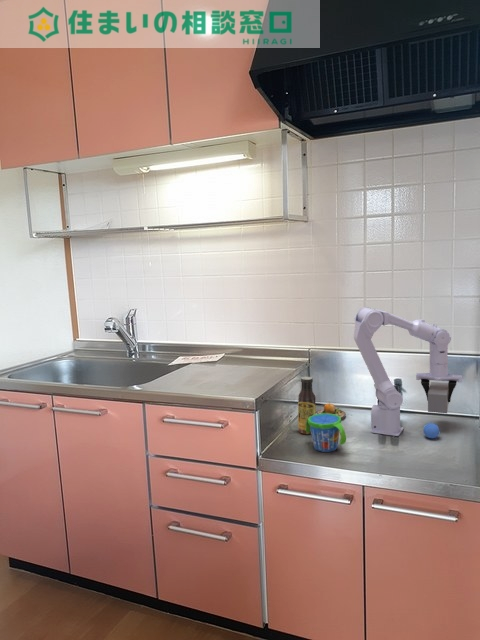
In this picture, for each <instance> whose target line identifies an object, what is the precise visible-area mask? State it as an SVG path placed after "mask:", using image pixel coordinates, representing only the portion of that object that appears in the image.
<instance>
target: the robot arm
mask: <svg viewBox="0 0 480 640" xmlns="http://www.w3.org/2000/svg"><path fill="white" fill-rule="evenodd" d="M389 324H390V325H393V326H395V327H399V328H401V329H404V330H406V331H408V333H409V335H410V336H413V337H415V338H417V339H420V340H422V341H425V342H427V343H429V372H423V373H422V372H421V373H420V372H419V373H417V372H416V375H415V376H416V377H415V378H416V379H415V380H417V381H419V380H420V384H421V386H422V388H423V391H424V393H425V396H426V401H427V402H428V391H429V387H430V383H431V382H430V381H437V382H438V381H440V382H441V381H442V382H447V383H448V402H449V403H451V400H452V399H451V398H452V396H453V395H452V394H453V393H454V391H455V388H456V386H457V382H458V383H462V382H463V379H462V377H463V375H461V374H452V373H451V374H450V373H449V369H448V363H449V362H448V361H449V360H448V347H449V344H450V342H451V340H452V337H451V336H450V335H451V334H450V333H449V332H448V330H445V329H444V328H440V327H438V325H436V324H429V323H427V322H426V321H425V320H424V319H421V318H420V319H414V320H413V321H410V320H408V319H407V318H404V317H401V316H398V315H396V314H393V313H391V312H388V311H385V310H381V309H376V308H373V309H372V308H371V307H369V306H364V307H362V308H360V309H358V311H357V313H356V314H355V316H354V331H353V340H354V341H355V344H356V346H357V348H358V350H359V352H360V355H361V357H362V359H363V361H364V363H365V365H366V368H367V370H368V372H369V374H370V376H371V378H372V380H373V383H374V384H373V386H374V389H375V397H376V399H378V404H373V405H372V406H371V411H370V425H371V426H370V433H373V434H379V435H386V436H387V435H388V436H394V437H395V436H396V437H399V436H400V435H401V433H402V432H403V430H404V427H403V426H401V406H402V404H403V400H404V399H403V396H402V393H400V392H399V391H398V390H397V389H396V387H395V385H394V384H393V382H392V380H390V377H389V376H388V374H387V371H386V369H385V366H384V365H383V363H382V361H381V358H380V356H379V353H378V352H377V349H376V347H375V345H374V343H373V341H372V338H373V336H374V334H375V333H376V332H377V331H378V330H379V329H380V327H382V326H387V325H389Z"/></svg>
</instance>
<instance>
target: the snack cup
mask: <svg viewBox="0 0 480 640" xmlns="http://www.w3.org/2000/svg"><path fill="white" fill-rule="evenodd" d="M305 430H306V433H310V432H311V434H310V435H311V439H312V443H313V447H314V450H316V451H318V452H322V453H328V452H330V453H331V452H334V451H336V449H337V448H338V446H339V445H338V444H340V445H341V446H342V445H344V444H346V442H347V435H346V432H345V428H344V426H343V424H342V421H341V418H340V417H339V416H338V415H335V414H328V413H322V414H315V415H312V416H310V417H309V418H308V419H307V421H306V428H305ZM339 436H340V440H339Z"/></svg>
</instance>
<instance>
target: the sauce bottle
mask: <svg viewBox="0 0 480 640" xmlns="http://www.w3.org/2000/svg"><path fill="white" fill-rule="evenodd" d="M313 381H314V380H313V377H312V376H301V378H300V382H301V388H300V389H301V390H300V391H299V392H300V393H299V394H298V400H297V401H298V402H297V428H298V433H300V434H303V435H312V434H311V432H310V433H306V430H305V428H306V421H307V419H308V418H309V417H310V416H312V415H315V414H316V412H317V411H316V410H317V409H316V408H317V407H316V406H317V404H316V395H315V393H314V392H313Z"/></svg>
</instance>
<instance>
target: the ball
mask: <svg viewBox="0 0 480 640" xmlns="http://www.w3.org/2000/svg"><path fill="white" fill-rule="evenodd" d="M423 435H424V436H425V437H427V438H428V439H431V440H432V439H436V438H438V437H439V436H440V428H439V426H438V424H436V423H432V422H429V423H426V424H425V425H424V427H423Z"/></svg>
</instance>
